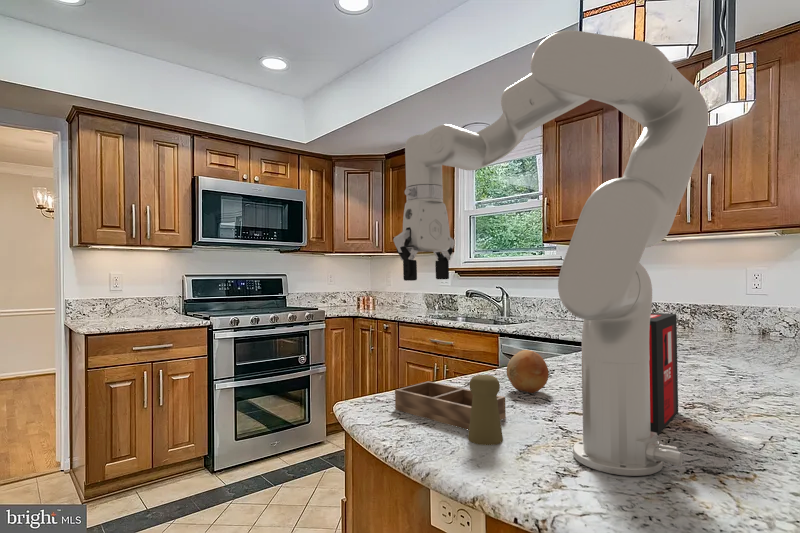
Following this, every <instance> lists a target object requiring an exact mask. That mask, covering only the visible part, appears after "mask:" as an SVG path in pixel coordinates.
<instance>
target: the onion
mask: <svg viewBox="0 0 800 533" xmlns="http://www.w3.org/2000/svg"><path fill="white" fill-rule="evenodd" d="M549 374H550V372H549V368H548V365H547V363H546V361H545V360H544V358H543V357H542V356H541V355H540V354H539V353H537V352H535V351H533V350H530V349H523V350H519V351H518V352H517V353H515V354H514V355H513V356H512V357H511V358H510V359H509V361H508V363H507V366H506V376H507V379H508V380H509V382H510V384H511V386H512V387H513V388H514V389H515V390H516V391H519V392H525V393H528V394H535V393H537V392H539V391H540V390H541V389H542V388H544V387H545V386H546V384H547V383H548V380H549V376H550V375H549Z"/></svg>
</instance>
